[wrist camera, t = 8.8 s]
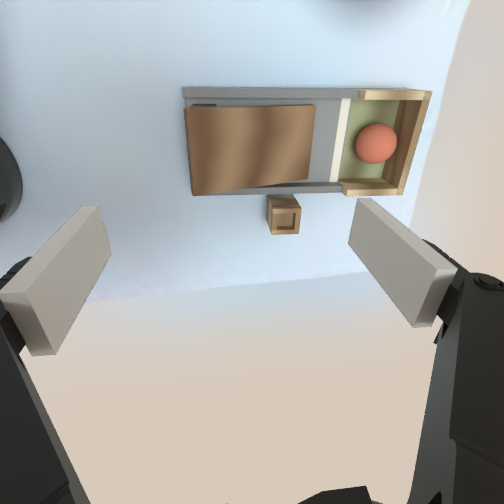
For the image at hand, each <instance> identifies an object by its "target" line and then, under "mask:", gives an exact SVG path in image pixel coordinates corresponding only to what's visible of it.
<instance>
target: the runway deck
mask: <svg viewBox="0 0 504 504" xmlns="http://www.w3.org/2000/svg"><path fill="white" fill-rule="evenodd" d="M182 90H183V97H185V105H186V109H187V108H191V106H192V105H193V104H216V108H217V107H247V106H276V105H306V104H312V105H316V114H315V123H314V131H313V140H312V149H311V158H310V166H309V175H308V179H307V180H300V181H294V182H287V183H280V184H274V185H267V186H260V187H254V188H247V189H240V190H233V191H227V192H220V193H213V194H207V195H200V196H209V195H251V194H293V193H334V192H342V190H343V185H342V184H340V183H339V176H340V170H341V164H342V158H343V152H344V146H345V140H346V134H347V128H348V122H349V116H350V111H351V105H352V99H353V98H354V99H359V94H360V90H358V89H350V88H277V87H186V86H185V87H183V88H182ZM192 195H193V194H192ZM193 196H194V195H193Z"/></svg>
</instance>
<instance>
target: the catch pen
mask: <svg viewBox="0 0 504 504" xmlns="http://www.w3.org/2000/svg"><path fill="white" fill-rule="evenodd" d="M350 89H358V90H360V94H359V99H354V98H353V99H352V105H351V111H350V116H349V122H348V128H347V134H346V140H345V146H344V152H343V158H342V164H341V170H340V176H339V183H340V184H342V185H343V190H342V193H343V194H344V195H345V196H383V195H402V194H403V191H404V188H405V184H406V181H407V177H408V174H409V170H410V167H411V163H412V160H413V157H414V153H415V150H416V146H417V143H418V139H419V136H420V132H421V129H422V126H423V122H424V119H425V115H426V112H427V108H428V105H429V101H430V98H431V94H432V91H424V90H414V89H368V88H350ZM376 123H382V124H386V125H388V126H390V127H391V128H392V129H393V130H394V132H395V134H396V137H397V145H396V149H395V151H394V152H393V154H392V155H391V156H390V157H389V158H388V159H387V160H385V161H384V162H381V163H378V164H369V163H366V162H364V161H363V160H361V159H360V158H359V156H358V155H357V152H356V140H357V138H358V136H359V134H360V133H361V131H362V130H363V129H365V128H366V127H368V126H369V125H372V124H376Z"/></svg>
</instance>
